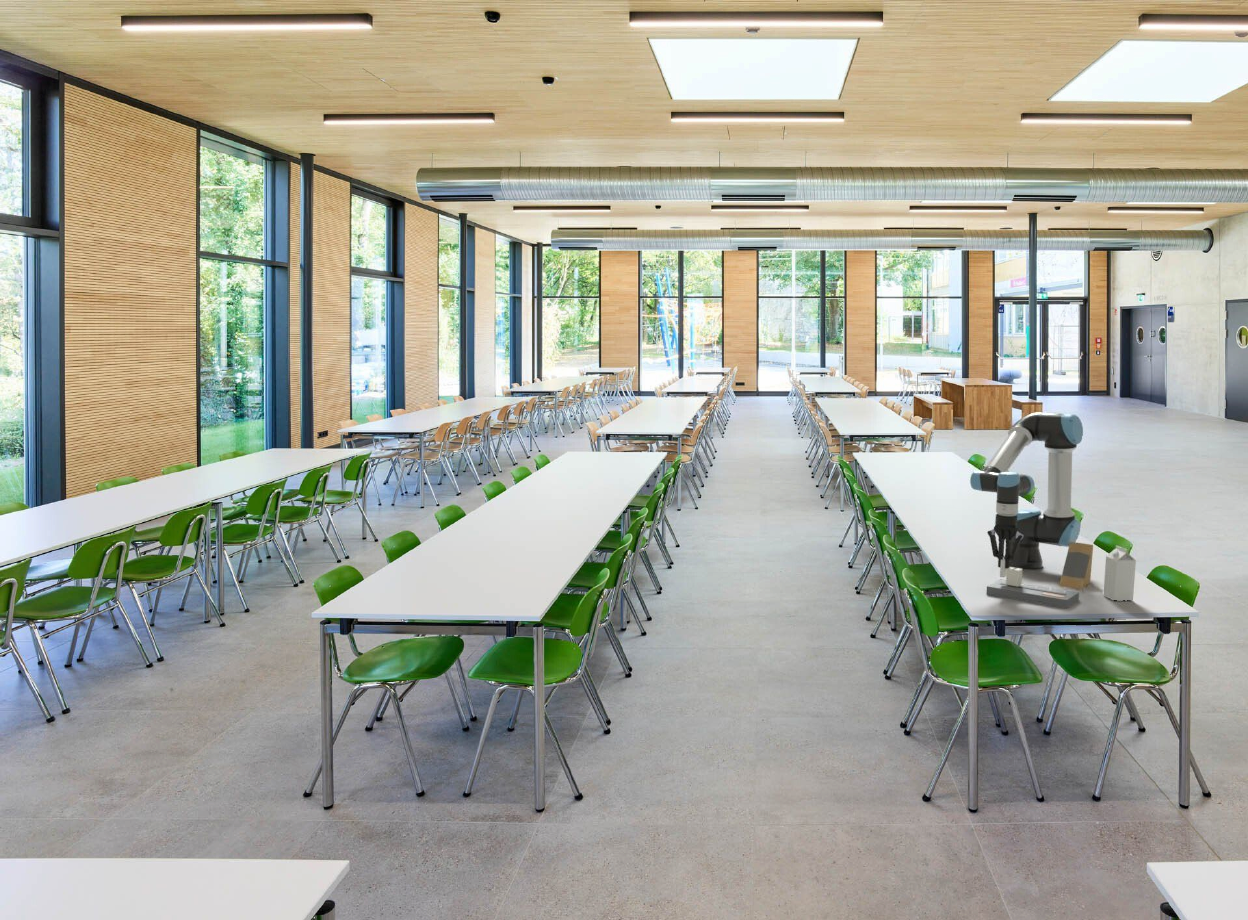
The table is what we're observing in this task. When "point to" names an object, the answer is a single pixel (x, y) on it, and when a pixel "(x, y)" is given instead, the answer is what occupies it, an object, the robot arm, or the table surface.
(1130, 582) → the milk carton
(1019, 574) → the fader knob
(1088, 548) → the sandwich container
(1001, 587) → the fader console
